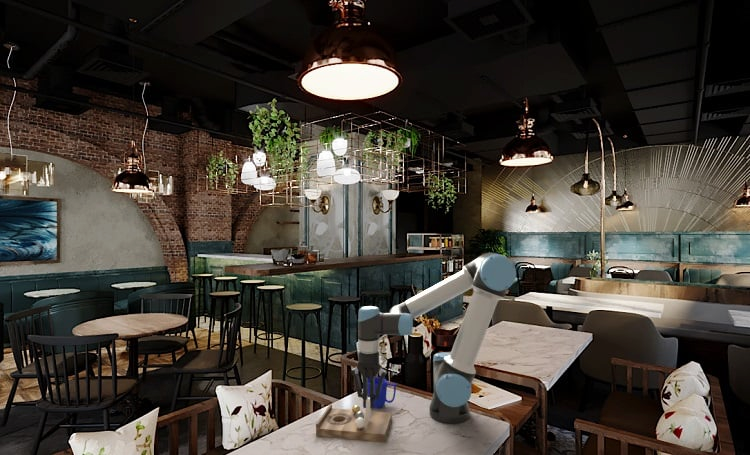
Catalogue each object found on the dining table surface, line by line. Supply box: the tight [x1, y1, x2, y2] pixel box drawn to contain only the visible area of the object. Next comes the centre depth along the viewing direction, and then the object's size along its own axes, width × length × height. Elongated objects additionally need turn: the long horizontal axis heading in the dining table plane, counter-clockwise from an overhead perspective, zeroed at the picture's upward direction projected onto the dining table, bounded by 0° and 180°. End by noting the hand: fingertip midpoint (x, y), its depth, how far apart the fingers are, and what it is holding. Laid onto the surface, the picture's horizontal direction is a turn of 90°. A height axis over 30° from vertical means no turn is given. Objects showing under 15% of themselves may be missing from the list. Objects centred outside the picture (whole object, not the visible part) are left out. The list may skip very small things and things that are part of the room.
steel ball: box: [355, 410, 364, 419], centre depth 143 cm, size 3×3×3 cm
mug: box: [367, 376, 397, 409], centre depth 161 cm, size 8×12×10 cm
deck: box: [315, 403, 393, 443], centre depth 144 cm, size 24×16×4 cm, turn 79°
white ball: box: [355, 417, 365, 429], centre depth 138 cm, size 4×4×4 cm
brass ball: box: [351, 404, 361, 414], centre depth 149 cm, size 3×3×3 cm
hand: (368, 417), depth 143 cm, fingers closed
